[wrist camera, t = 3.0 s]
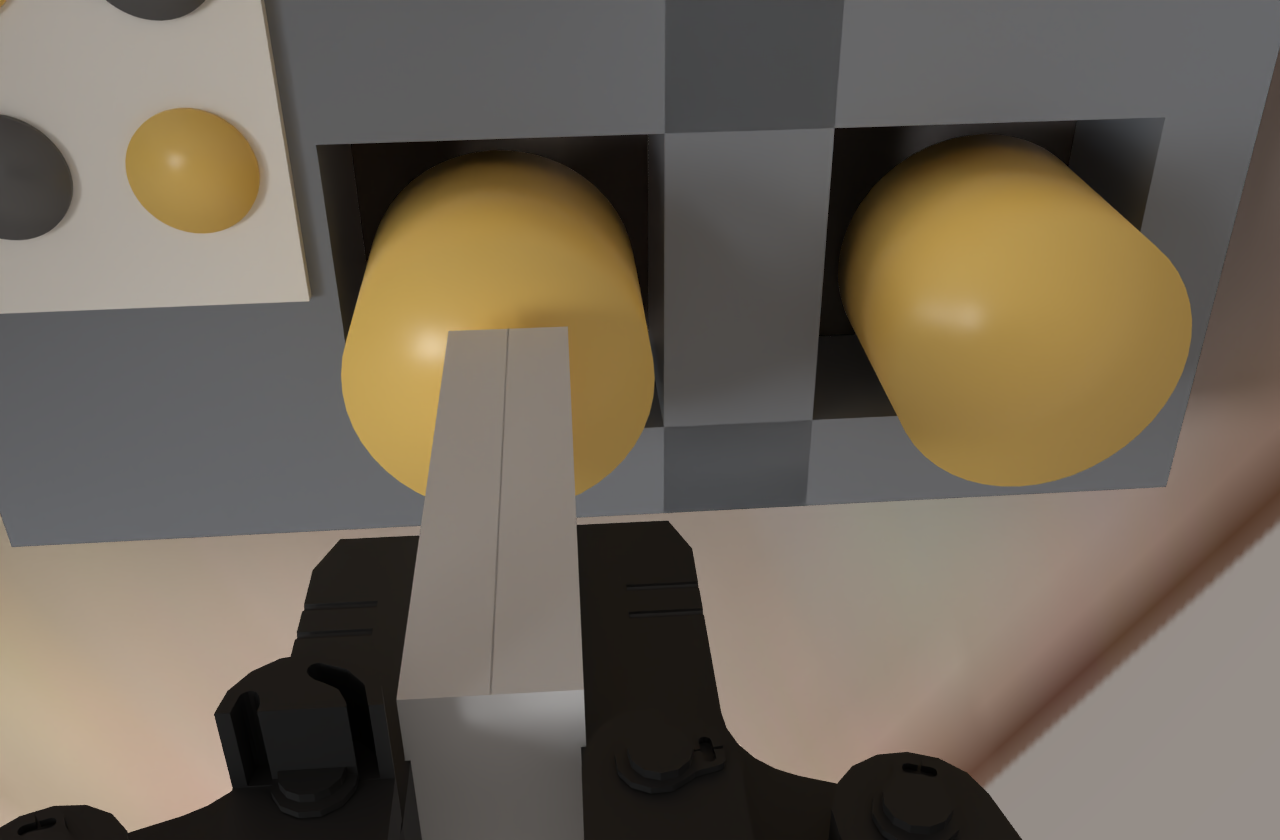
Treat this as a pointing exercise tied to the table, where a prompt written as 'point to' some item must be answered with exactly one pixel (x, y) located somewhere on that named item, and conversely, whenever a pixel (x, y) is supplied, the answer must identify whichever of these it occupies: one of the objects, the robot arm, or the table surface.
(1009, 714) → the table surface
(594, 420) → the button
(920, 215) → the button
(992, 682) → the table surface
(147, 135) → the board
